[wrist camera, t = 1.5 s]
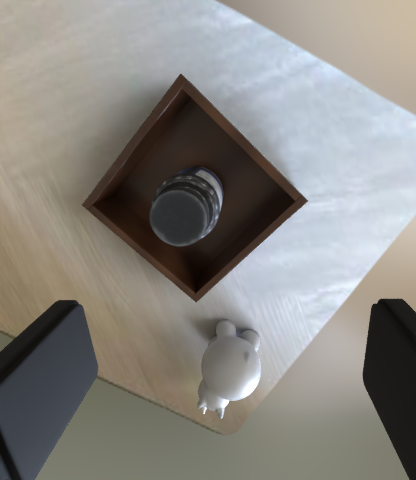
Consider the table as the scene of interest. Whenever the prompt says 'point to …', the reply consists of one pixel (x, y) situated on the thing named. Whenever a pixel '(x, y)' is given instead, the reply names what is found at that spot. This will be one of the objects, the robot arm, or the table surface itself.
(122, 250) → the table surface
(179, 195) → the pill bottle
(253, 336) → the toy rhinoceros
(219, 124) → the box
